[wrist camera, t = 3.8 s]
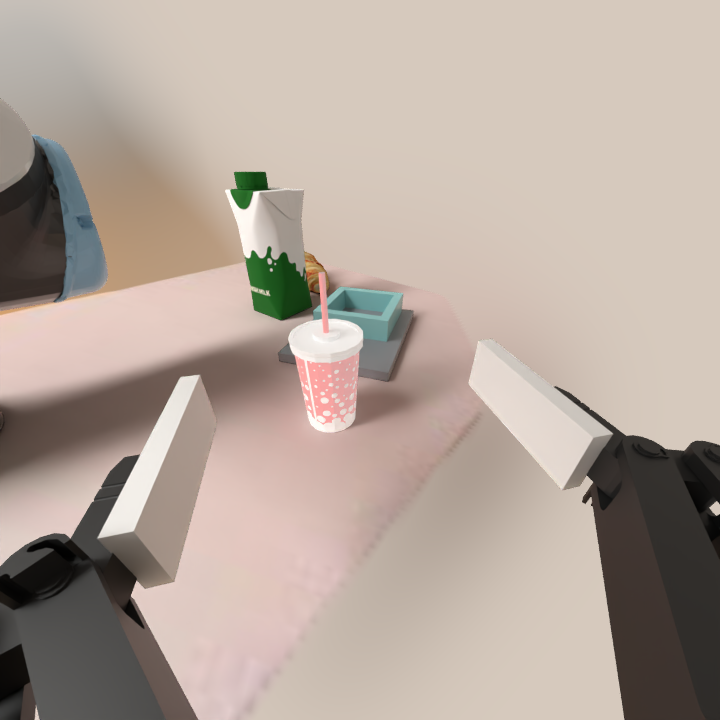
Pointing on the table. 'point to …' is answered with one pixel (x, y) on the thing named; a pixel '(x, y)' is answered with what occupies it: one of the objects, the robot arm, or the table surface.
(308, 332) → the beverage cup
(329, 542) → the table surface
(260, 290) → the milk carton
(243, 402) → the table surface
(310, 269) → the croissant
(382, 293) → the dock
